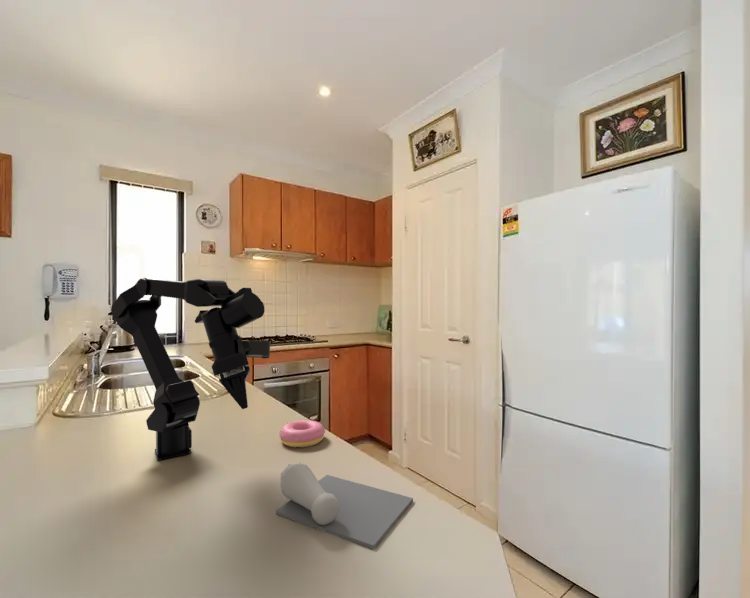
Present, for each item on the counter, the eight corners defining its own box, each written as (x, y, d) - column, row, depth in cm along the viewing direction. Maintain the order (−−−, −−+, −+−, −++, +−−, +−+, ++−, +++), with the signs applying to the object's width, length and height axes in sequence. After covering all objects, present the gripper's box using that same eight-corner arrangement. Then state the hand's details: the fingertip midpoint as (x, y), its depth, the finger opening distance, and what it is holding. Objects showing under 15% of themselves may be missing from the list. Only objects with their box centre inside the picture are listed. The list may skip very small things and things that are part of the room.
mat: (275, 513, 61) (275, 510, 61) (326, 477, 73) (326, 474, 73) (373, 549, 52) (373, 545, 52) (412, 501, 64) (412, 498, 64)
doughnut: (309, 430, 100) (309, 414, 100) (334, 441, 92) (334, 424, 92) (271, 440, 92) (271, 423, 92) (294, 454, 84) (294, 435, 84)
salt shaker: (274, 496, 65) (311, 539, 55) (275, 463, 64) (313, 501, 54) (304, 485, 68) (345, 524, 58) (306, 455, 68) (347, 488, 58)
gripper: (262, 314, 73) (287, 392, 70) (261, 331, 90) (281, 394, 88) (201, 332, 69) (225, 415, 66) (212, 346, 86) (232, 413, 84)
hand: (245, 408), depth 76 cm, fingers closed
